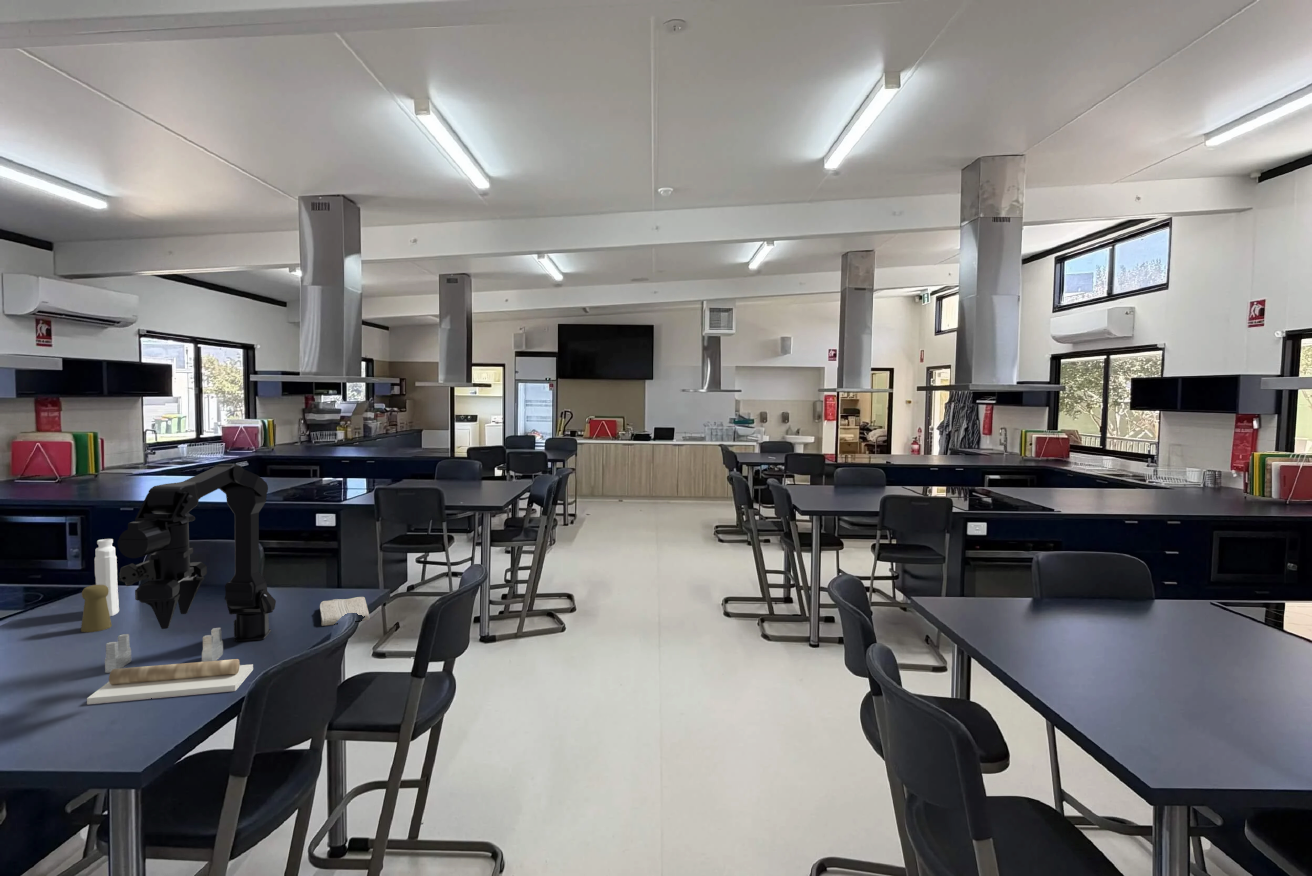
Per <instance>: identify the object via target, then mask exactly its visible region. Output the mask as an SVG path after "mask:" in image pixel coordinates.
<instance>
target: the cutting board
mask: <svg viewBox="0 0 1312 876" xmlns="http://www.w3.org/2000/svg"><path fill="white" fill-rule="evenodd" d="M253 670H254V664H253V663H252V664H240V666H239V671H238V673H237V674H232V675H220V676H208V677H197V678H185V679H173V680H161V681H150V682H138V683H126V684H115V685H111V684H110V683H109V681H108V682H107V683H105V684H103V686H101V687H100V688H98V689H97V690H96V691H95V692H93V693H92V694H90V695H89V696H88V697H87V698H86V705H97V704H106V703H119V702H129V701H139V700H151V698H152V699H163V698H172V697H183V696H185V697H186V696H194V695H195V696H196V695H206V694H207V695H208V694H217V693H227V692H236V691H237V690H238V689H239V687H240V686H241V685H242V684H243V682H244V681H245V680H246V679H247V677H249V675H251V673H252V672H253Z"/></svg>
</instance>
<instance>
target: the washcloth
mask: <svg viewBox="0 0 1312 876" xmlns="http://www.w3.org/2000/svg"><path fill="white" fill-rule="evenodd" d="M319 611H320V620H321V622H320V623H321V624H320V625H321V626H322V627H323V626H325V627H327V626H334V624H335V623H336V622H337V621H338V620H339V619H340V618H341V617H342V616H344V615H345V614H347V613H357V614H358V615H362V616H363V617H364V616H365V618H364V619H363V620H362V621H361V622H364V621H368V620H370V619H371V618H370V613H369V609H368V605H367V601H366V598H365V597H364V596H357V597H352V598H346V599H344V598H342V599H340V598H339V599H338V598H335V599H334V598H333V599H329V600H323V601H321V602H320V604H319ZM335 625H336V624H335Z"/></svg>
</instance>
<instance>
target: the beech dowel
mask: <svg viewBox="0 0 1312 876" xmlns="http://www.w3.org/2000/svg"><path fill="white" fill-rule="evenodd" d="M240 665H241V664H240V659H238V658H236V659H232V658H231V659H224V660H223V659H221V660H219V659H218V660H216V661H207V662H202V661H197V662H196V661H195V662H186V663H185V662H184V663H172V664H171V663H170V664H159V665H158V664H157V665H149V666H147V665H146V666H136V667H135V666H134V667H123V668H120V669H113V670H112V671H111V672H110V673H109V675H108V676H109V677H108V682H109V683H110V684H111V685H115V684H126V683H138V682H150V681H161V680H173V679H185V678H197V677H208V676H220V675H232V674H237V673H238V671H239V666H240Z"/></svg>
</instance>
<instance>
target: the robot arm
mask: <svg viewBox="0 0 1312 876" xmlns="http://www.w3.org/2000/svg"><path fill="white" fill-rule="evenodd" d="M217 490H220V491H221V492H222V493H224V494H225V497H226V498H225V499H226V504H227V506H228V507H229V508H230V510H231V511H232V513H233V514H234V575H233V577H231V579H230V581H229V582H226V583H225V585H224V590H225V591H224V592H225V595H224V601H225V604H226V607H227V610H228V614H229V615H235V617H236V619H234V620H233V635H234V636H233V637H234V639H233V641H234V642H244V641H245V642H247V641H261V640H265V639H266V638H267V636H269V634H270V633H272V629H269V628H270V626H269V625H270V624H269V614H272V613H273V612H274V611H275V608H276V603H277V600H276V599H275V598H274V597H273V596H272V595H271V593H269V591H268V584H267V581H266V579H265V578H264V576H263V575H262V574H261V572H260V565H259V564H260V559H259V558H260V551H259V550H260V548H259V547H260V540H259V539H260V538H259V537H260V536H259V535H260V531H259V529H260V526H259V524H260V522H259V521H260V520H259V519H260V517H259V515H260V512H261V510H262V509H263V507H264V506H265V504H266V502H267V495H268V491H269V486H268V484H267V481H265V479H264V478H262V477H260V476H259V475H258V474H255V473H254V472H251V471H249V470H246V469H245V468H243V467H242V466H241V465H240V464H239V465H238V464H236V463H219V464H216V465H214V466H213V467H212V468H210V469H208V470H205V471H204V472H201V473H199V474H197V475H195V476H192V477H190V478H188V479H185V480H184V481H179V482H171V483H169V482H168V483H163V484H158V485H154V486H152V487H151V488H150V489H149V490H148V493H147V494H146V496H145V498H144V500H143V502H142V504H141V506H140V508H139V510H138V512H137V514H136V516H135V519H134V521H131V522H128V524H127V529H126V530H123V532H122V533H121V534H120V536H119V537H118V540H117V548H118V550H119V552H120V553H121V554H122V555H123V556H125V557H126V558H130V559H138V558H139V559H140V558H142V557H144V556H148V555H149V557H148V560H146V561H143V562H140V563H137V564H134V563H133V562H132V563H130V564H127V565H124V566H121V567H120V570H119V571H120V572H119V573H118V576H119V577H118V581H119V582H123V583H124V584H125V585H126V587H130V586H132V585H134V584H135V583H137V582H140V581H143V580H145V579H148V580H147V581H146V582H144V583H141V585H139V586H138V587H137V588H136V589H135V590H134V598H135V599H134V600H135V601H139V602H140V603H142V604H144V603H145V604H146V605H148V606H150V607H151V609H152V611H153V613H154V615H155V618H156V619H157V622H158V624H159V626H160V629H162V630H164V629H165V630H167V629H168V628H169V627H170V625H171V623H172V620H173V616H174V613H175V611H176V607H177V604H178V609H179V612H180V615H187V614H188V612H189V610H190V608H191V607H192V604H193V601H194V599H195V597H196V595H197V593H198V590H199V589H200V586H201V585H202V582H203V581H204V580H205V577H206V575H207V574H208V570H207V569H208V568H207V565H206V564H205V563H204V562H202V561H198V562H197V561H193V562H191V559H190V558H191V557H190V555H192V554H193V553H194V547H190V530H189V529H190V528H189V522H193V521H195V520H196V517H195V516H194V515H192V514H190V512H191V511H192V510H193V509H194V508H196V507H197V506H198V505H199V500H200V499H201V498H203V497H205V496H207V495H209V494H211V493H213V492H216V491H217ZM204 576H205V577H204Z"/></svg>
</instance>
